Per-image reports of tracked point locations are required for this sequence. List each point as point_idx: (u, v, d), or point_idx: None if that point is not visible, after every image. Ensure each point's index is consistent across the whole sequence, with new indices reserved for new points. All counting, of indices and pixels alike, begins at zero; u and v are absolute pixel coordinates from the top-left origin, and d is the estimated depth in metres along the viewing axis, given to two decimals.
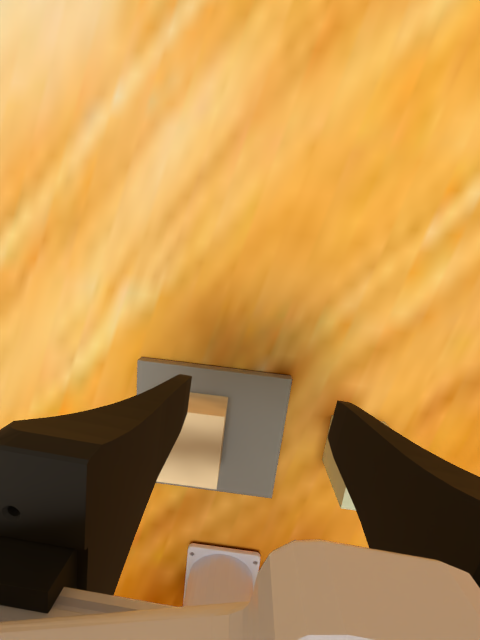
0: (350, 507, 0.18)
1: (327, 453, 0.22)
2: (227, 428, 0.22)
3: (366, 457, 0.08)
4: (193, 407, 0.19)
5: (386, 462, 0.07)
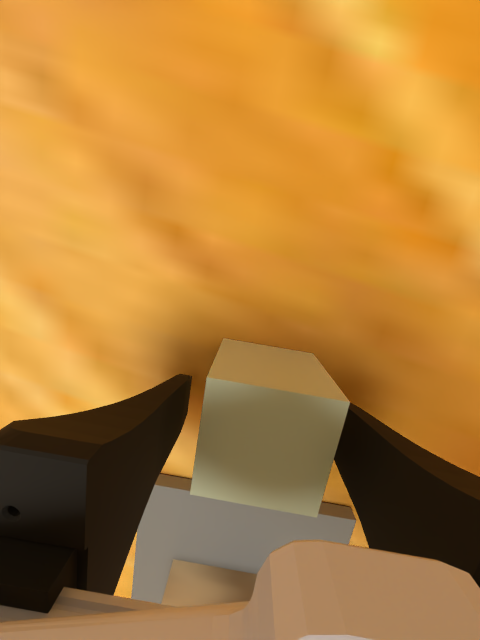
0: (315, 501, 0.09)
1: None
2: (223, 564, 0.15)
3: (366, 457, 0.08)
4: None
5: (386, 462, 0.07)
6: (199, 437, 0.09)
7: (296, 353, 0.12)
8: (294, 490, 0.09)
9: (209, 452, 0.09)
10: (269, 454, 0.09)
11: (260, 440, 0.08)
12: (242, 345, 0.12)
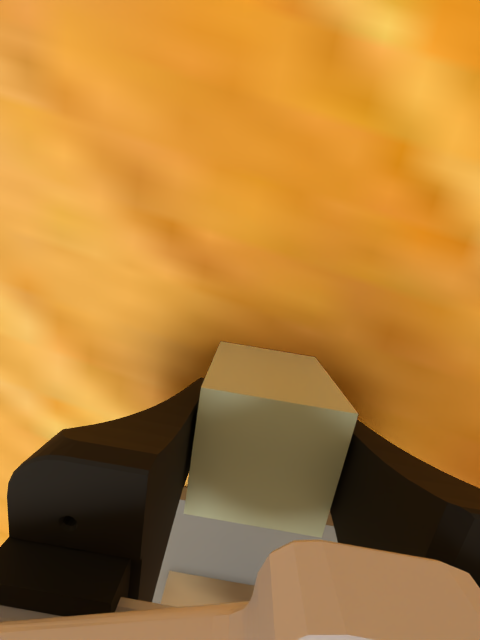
0: (320, 521, 0.08)
1: None
2: (221, 576, 0.14)
3: None
4: None
5: (354, 456, 0.07)
6: (193, 452, 0.08)
7: (298, 358, 0.12)
8: (297, 509, 0.08)
9: (204, 468, 0.08)
10: (269, 470, 0.08)
11: (260, 455, 0.08)
12: (240, 349, 0.11)
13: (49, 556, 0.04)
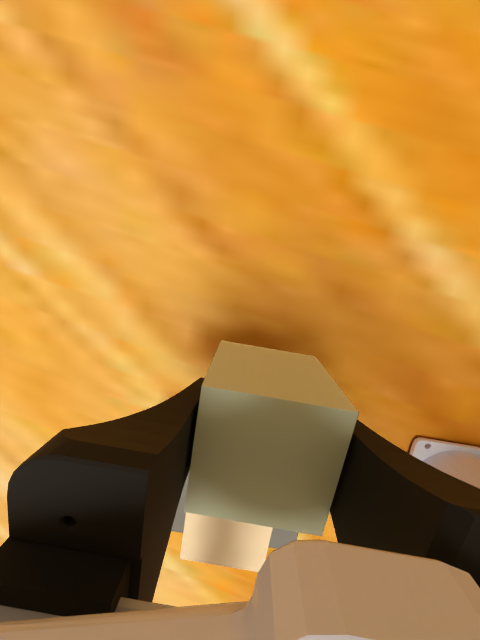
0: (320, 519, 0.08)
1: None
2: None
3: None
4: None
5: (354, 456, 0.07)
6: (194, 450, 0.08)
7: (298, 356, 0.12)
8: (297, 507, 0.08)
9: (205, 467, 0.08)
10: (269, 469, 0.08)
11: (261, 453, 0.08)
12: (241, 348, 0.11)
13: (49, 556, 0.04)
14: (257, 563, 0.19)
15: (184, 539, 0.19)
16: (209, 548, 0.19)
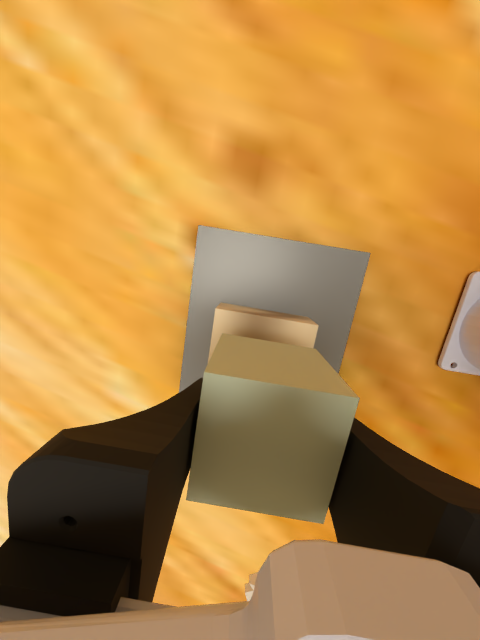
0: (322, 506, 0.08)
1: None
2: (261, 305, 0.19)
3: None
4: None
5: (354, 457, 0.07)
6: (196, 438, 0.08)
7: (299, 349, 0.12)
8: (299, 494, 0.08)
9: (207, 454, 0.08)
10: (271, 456, 0.08)
11: (262, 440, 0.08)
12: (242, 340, 0.12)
13: (49, 556, 0.04)
14: None
15: None
16: None
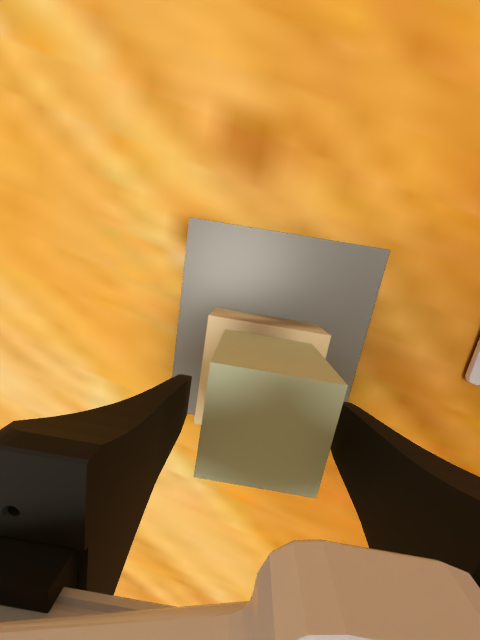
0: (314, 482, 0.09)
1: None
2: (263, 311, 0.16)
3: (367, 457, 0.08)
4: None
5: (386, 462, 0.07)
6: (203, 421, 0.09)
7: (296, 343, 0.13)
8: (294, 472, 0.09)
9: (213, 435, 0.09)
10: (270, 437, 0.09)
11: (262, 423, 0.09)
12: (243, 336, 0.13)
13: None
14: None
15: (200, 393, 0.14)
16: None
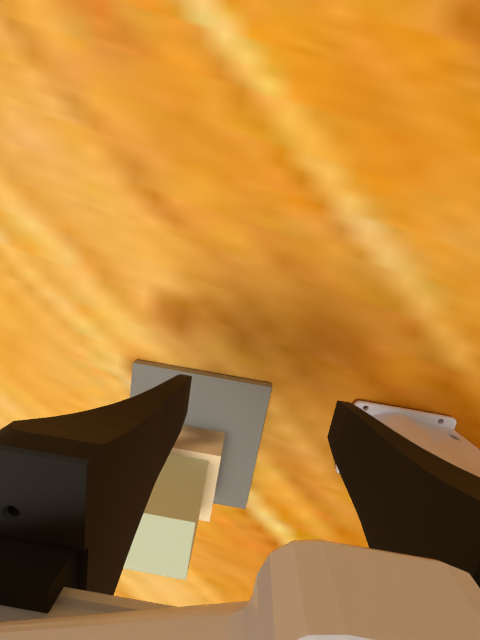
0: (184, 571, 0.16)
1: None
2: (187, 423, 0.23)
3: (366, 457, 0.08)
4: None
5: (386, 462, 0.07)
6: None
7: (195, 464, 0.19)
8: (171, 565, 0.16)
9: None
10: (155, 547, 0.15)
11: (150, 539, 0.15)
12: None
13: None
14: (204, 512, 0.21)
15: None
16: None
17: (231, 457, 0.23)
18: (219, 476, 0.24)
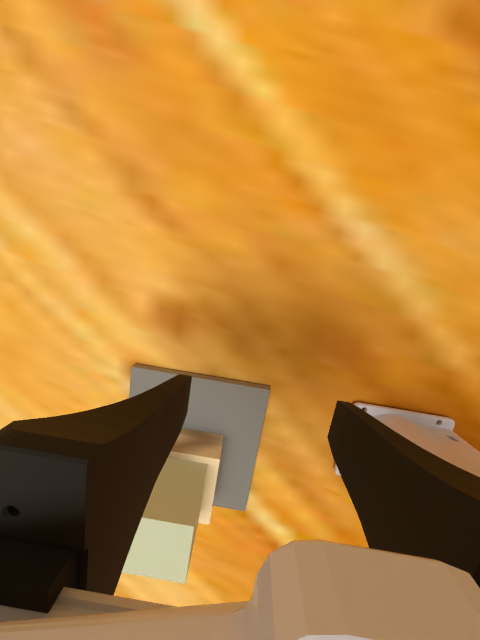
0: (183, 575, 0.16)
1: None
2: (186, 426, 0.23)
3: (367, 457, 0.08)
4: None
5: (386, 462, 0.07)
6: None
7: (194, 467, 0.19)
8: (171, 569, 0.16)
9: None
10: (154, 551, 0.16)
11: (149, 544, 0.15)
12: None
13: None
14: (204, 515, 0.21)
15: None
16: None
17: (230, 460, 0.23)
18: (218, 479, 0.24)
